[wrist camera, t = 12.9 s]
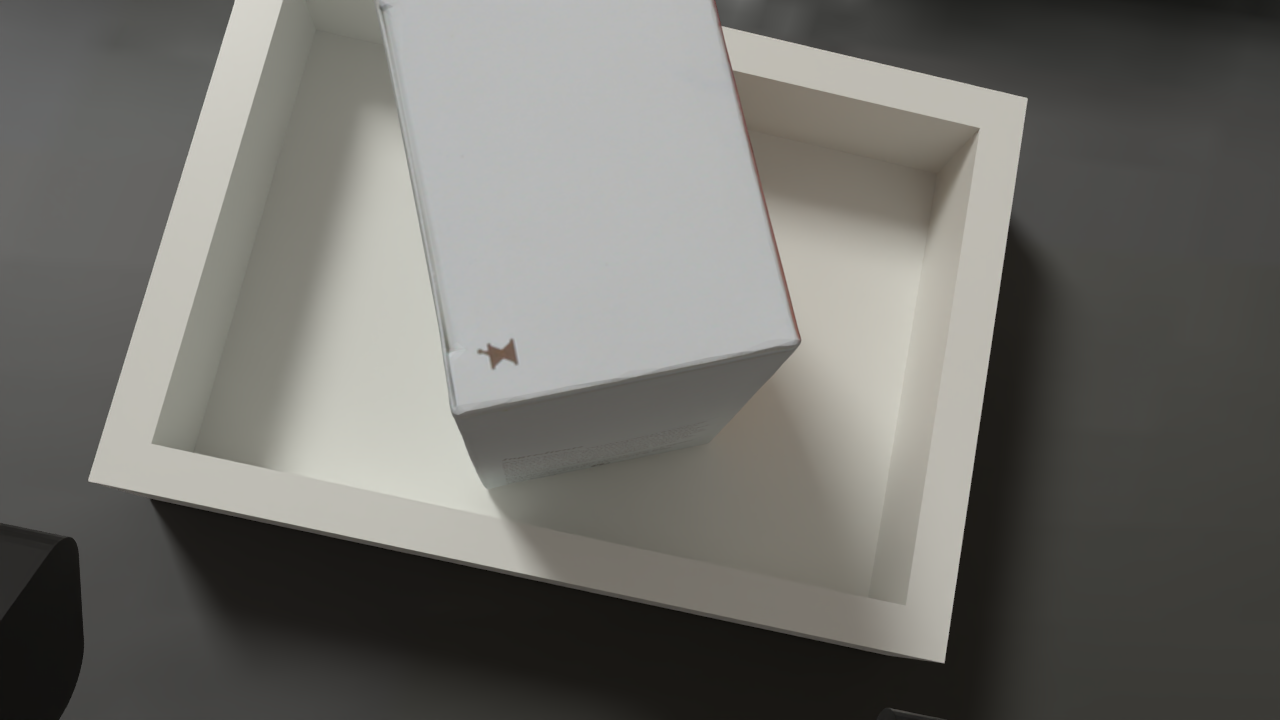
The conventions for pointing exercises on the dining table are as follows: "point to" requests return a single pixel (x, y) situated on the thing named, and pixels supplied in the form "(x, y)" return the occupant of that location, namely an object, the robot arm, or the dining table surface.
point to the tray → (613, 493)
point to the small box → (586, 226)
